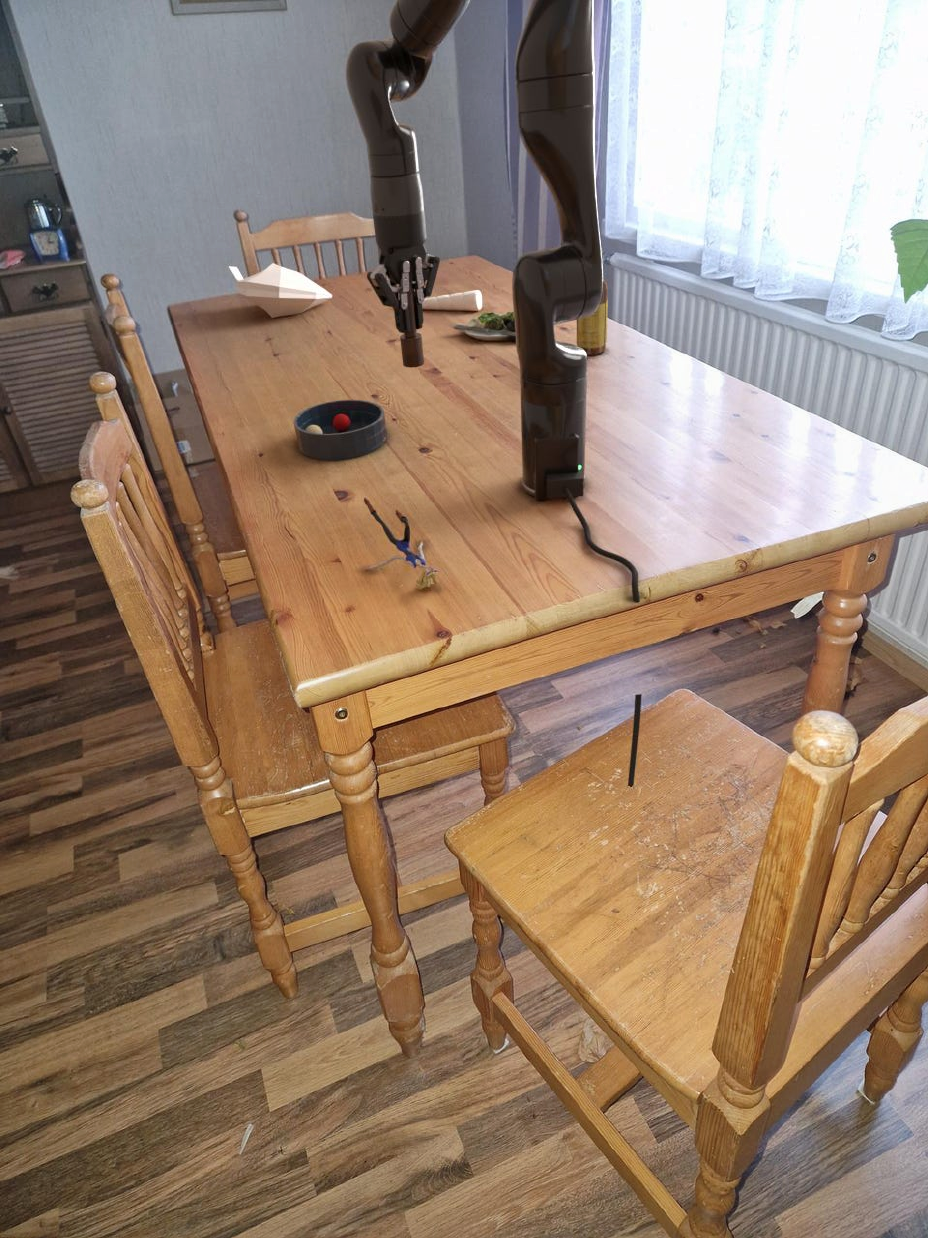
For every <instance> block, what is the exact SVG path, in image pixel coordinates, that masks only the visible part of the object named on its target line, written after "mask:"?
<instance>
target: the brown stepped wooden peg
mask: <svg viewBox="0 0 928 1238" xmlns="http://www.w3.org/2000/svg"><path fill="white" fill-rule="evenodd" d="M398 286H401V285H399V284H398ZM407 303H408V306H407V308H408V309H409V319H410V329H411V331H410V333H407V334H405V333H402V334H401V335H400V336H399V339H400V350H401V357H402V366H403V367H405V368H411V369H413V368H419V367H421V366H423V365H424V364H425V359H424V358H425V357H424V348H423V346H424V345H423V337H422V334H421V333H419V332H418V331H417V330H418V329H416V319H415V309H414V299H413V288H412V281H410V282H409V292H408V293H407Z"/></svg>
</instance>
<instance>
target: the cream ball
mask: <svg viewBox="0 0 928 1238" xmlns="http://www.w3.org/2000/svg"><path fill="white" fill-rule="evenodd" d="M305 431H307V432H312V433H317V434H323V433H322V430H321V428H320V427H319V426H317V425H310V426H308V427H307V428H306V430H305Z"/></svg>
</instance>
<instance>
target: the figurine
mask: <svg viewBox="0 0 928 1238" xmlns="http://www.w3.org/2000/svg"><path fill="white" fill-rule="evenodd" d="M363 502H364V504H365V505H366V506H367V509H368V510H369V513H370V515H371V516H373V518H374V520H375V521H376V522H378V523H379V524H380V526H381V527H382V530H383V532H384V533H385V535H386V537H387V538H388V540H389V542H390V543H391V544H393V545H394V546H395V547H396V549H397V550H398V551H399V552H401V553H403V554H404V555H405V556H406V557H403V556H402V555H400V554H395V555H393V556H392V557H389V558H388V559H387V560H385V561H382V562H380V563H377V564H374V565H372V566H368V567H366V568H365V569H364V571H368V570H371V571H372V570H375V569H377V568H381V567H383V566H386V565H389V564H390V563H392V562H393V561H395V560H401V561H403V562H405V563H406V564H408V565H410V566H411V567H412V568H413V569H416V568H417V567H419V568H421V569H422V568H423V571H422V572H421V574H420V575H419V577H418V578H417V579H416V580H415V582H416V583H417V584H415V587H416V588H417V590H420V591H421V590H422V589H426V588H430V587H431V586H433V585H437V586H439V585H438V582H437V577H436V574H439V571H438V569H437V568H435V567H433V566H428V565H426V560H425V559H426V558H425V555H424V551H423V546H424V542H423V541H421V542H420V543H419V545H418V547H417V551H418V553H419V554H418V553H414V552H413V550H411V548H410V543H411V529H410V524H409V519H408V518H407V517H406V516H405V515H403V514H402V513H401V511H399V510H398V509H395V515H396V517H397V518H398V520H399V521H400V522H401V523H402V524H404V531H403V538H402V539H398V538H396V537H395V535H394V533H393V532H392V531H391V529H390V528H389V527H388V525H387V524H386V522H384V520H382V518H381V517H380V516H379V514H378V513H377V510H376V509H375V507H374V505H372V503H371V502H370V500H369V499H368V498H366V497H364V498H363ZM418 584H419V585H418ZM426 603H428V601H426Z"/></svg>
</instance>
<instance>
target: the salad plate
mask: <svg viewBox="0 0 928 1238" xmlns="http://www.w3.org/2000/svg"><path fill="white" fill-rule="evenodd" d="M452 327H453V329H454V330H457V331H459V332H463V333H464V334H466V335H467V336H470V337H471V338H474V339H476V340H480V341H483V342H516V334H515V319H514V310H513V311H512V312H511V311H507V312H506V313H503V314H502V313H501V314H499V313H498V314H497V313H495V312H494V311H492V312H482V313H481V315H478V316H474V317H472V318H470V319H469V320H468V323H467V325H463V324H455V325H453V326H452Z"/></svg>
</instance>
